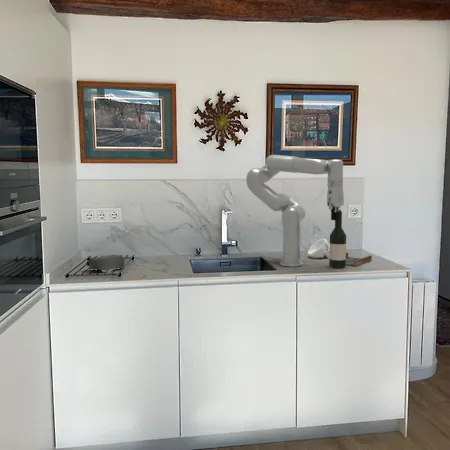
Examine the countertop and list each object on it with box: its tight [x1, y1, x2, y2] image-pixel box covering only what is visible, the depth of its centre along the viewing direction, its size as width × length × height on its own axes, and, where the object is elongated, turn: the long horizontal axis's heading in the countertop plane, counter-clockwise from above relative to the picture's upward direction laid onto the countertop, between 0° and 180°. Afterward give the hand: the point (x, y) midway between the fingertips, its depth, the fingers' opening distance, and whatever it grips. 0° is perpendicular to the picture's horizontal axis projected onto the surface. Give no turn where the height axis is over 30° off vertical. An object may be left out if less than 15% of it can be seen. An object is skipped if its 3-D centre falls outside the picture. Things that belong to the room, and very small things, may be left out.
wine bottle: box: [328, 209, 347, 269], centre depth 232 cm, size 8×8×30 cm
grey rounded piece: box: [86, 254, 125, 270], centre depth 232 cm, size 18×11×8 cm, turn 132°
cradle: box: [346, 252, 373, 268], centre depth 245 cm, size 15×20×3 cm
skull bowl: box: [307, 237, 330, 259], centre depth 259 cm, size 10×14×12 cm
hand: (334, 219), depth 227 cm, fingers closed
